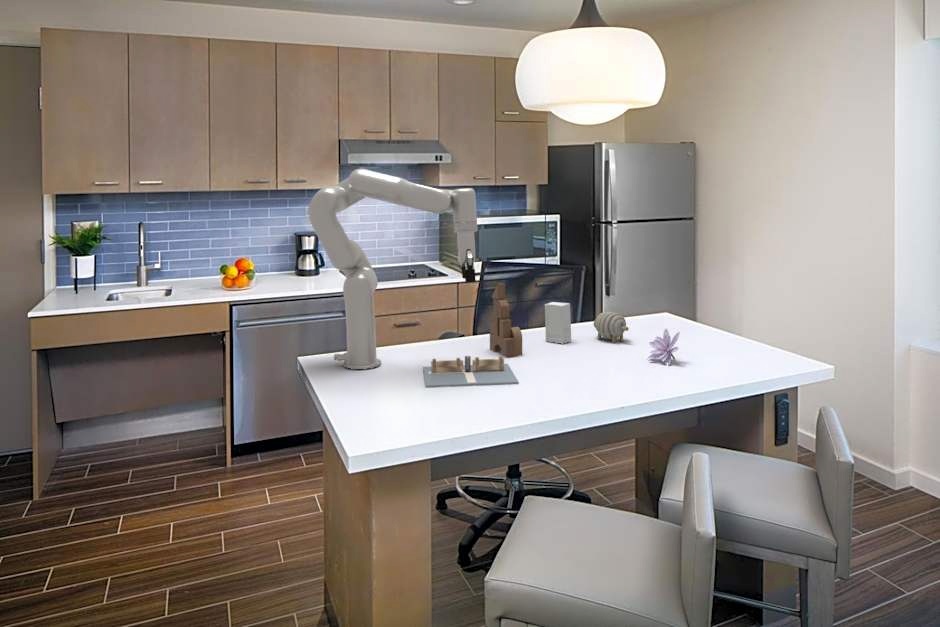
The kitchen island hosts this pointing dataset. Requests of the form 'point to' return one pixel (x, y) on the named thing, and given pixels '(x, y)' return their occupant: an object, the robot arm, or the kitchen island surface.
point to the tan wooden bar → (488, 364)
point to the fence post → (467, 363)
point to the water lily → (664, 347)
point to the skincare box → (558, 322)
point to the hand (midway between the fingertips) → (468, 280)
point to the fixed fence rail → (447, 365)
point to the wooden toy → (504, 327)
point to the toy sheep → (610, 325)
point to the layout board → (469, 377)
